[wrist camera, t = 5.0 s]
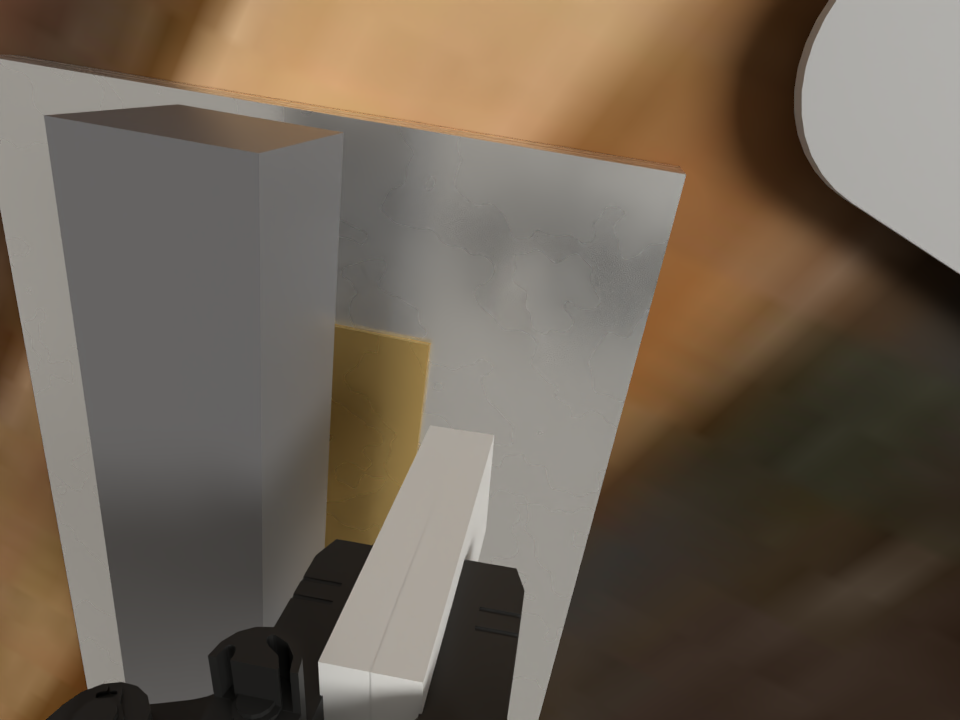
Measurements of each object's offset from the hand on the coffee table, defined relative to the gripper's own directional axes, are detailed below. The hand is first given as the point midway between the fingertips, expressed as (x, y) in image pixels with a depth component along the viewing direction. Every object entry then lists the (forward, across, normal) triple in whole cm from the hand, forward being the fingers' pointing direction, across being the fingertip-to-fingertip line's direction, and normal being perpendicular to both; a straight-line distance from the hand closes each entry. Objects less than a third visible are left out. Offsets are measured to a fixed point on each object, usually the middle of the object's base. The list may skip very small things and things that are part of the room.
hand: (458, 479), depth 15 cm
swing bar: (+2, +6, +6) cm, 9 cm away
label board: (+7, +6, +7) cm, 11 cm away
